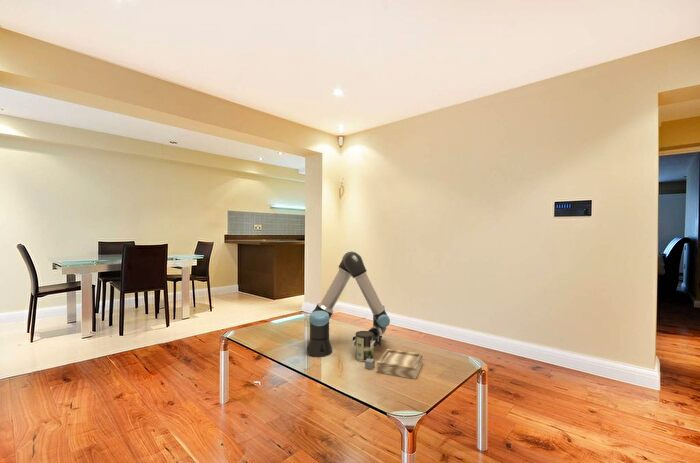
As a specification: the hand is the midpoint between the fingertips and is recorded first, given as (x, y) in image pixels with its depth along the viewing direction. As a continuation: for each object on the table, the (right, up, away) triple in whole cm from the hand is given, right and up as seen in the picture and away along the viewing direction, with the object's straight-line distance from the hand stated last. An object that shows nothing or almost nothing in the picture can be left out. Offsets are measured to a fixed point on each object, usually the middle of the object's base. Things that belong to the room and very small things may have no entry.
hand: (361, 345), depth 176 cm
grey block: (+4, -9, -9) cm, 13 cm away
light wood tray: (+20, -9, -9) cm, 24 cm away
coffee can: (+2, -9, +4) cm, 10 cm away
